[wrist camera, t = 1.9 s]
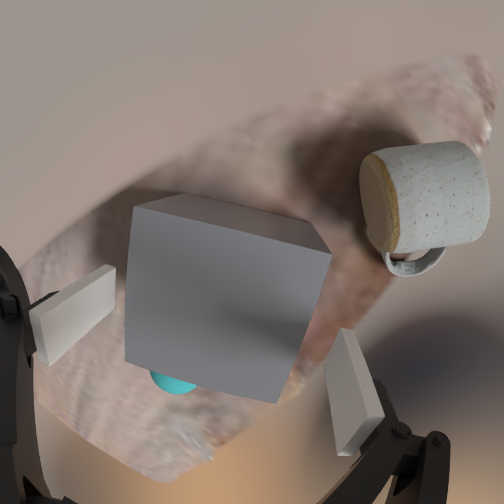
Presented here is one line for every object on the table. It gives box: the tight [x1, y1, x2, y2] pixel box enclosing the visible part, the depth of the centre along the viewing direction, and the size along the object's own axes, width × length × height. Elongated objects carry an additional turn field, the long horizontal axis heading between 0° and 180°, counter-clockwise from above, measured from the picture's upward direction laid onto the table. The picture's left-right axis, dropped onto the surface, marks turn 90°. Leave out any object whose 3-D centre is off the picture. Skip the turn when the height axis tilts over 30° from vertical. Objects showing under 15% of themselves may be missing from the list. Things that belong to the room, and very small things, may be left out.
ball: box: [150, 370, 197, 394], centre depth 24 cm, size 5×5×5 cm
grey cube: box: [125, 193, 333, 403], centre depth 19 cm, size 10×10×9 cm
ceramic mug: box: [359, 141, 490, 277], centre depth 17 cm, size 11×8×8 cm
